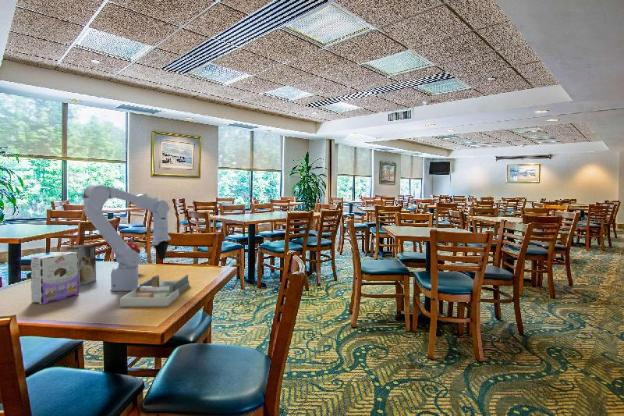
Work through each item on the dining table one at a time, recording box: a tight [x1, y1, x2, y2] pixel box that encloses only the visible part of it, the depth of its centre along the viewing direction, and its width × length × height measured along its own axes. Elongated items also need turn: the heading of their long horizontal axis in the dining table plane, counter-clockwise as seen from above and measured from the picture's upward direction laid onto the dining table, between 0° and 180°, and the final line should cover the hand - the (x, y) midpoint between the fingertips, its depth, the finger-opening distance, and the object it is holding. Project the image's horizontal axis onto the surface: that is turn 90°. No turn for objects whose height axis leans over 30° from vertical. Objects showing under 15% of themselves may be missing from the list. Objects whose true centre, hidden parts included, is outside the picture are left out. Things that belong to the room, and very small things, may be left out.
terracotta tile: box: [138, 292, 154, 298], centre depth 138 cm, size 4×4×2 cm
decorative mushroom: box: [125, 241, 141, 255], centre depth 182 cm, size 10×9×15 cm
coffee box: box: [66, 244, 97, 286], centre depth 162 cm, size 9×6×16 cm
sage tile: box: [154, 291, 169, 298], centre depth 138 cm, size 4×4×2 cm
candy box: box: [30, 251, 80, 305], centre depth 138 cm, size 14×6×16 cm, turn 157°
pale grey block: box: [139, 275, 171, 292], centre depth 140 cm, size 11×2×5 cm, turn 92°
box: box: [119, 289, 180, 308], centre depth 136 cm, size 16×12×3 cm
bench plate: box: [138, 274, 190, 295], centre depth 150 cm, size 14×17×4 cm
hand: (161, 259), depth 163 cm, fingers closed
